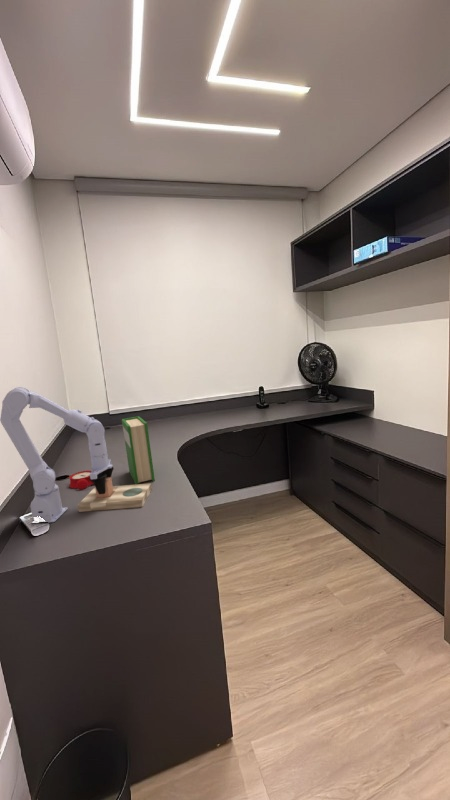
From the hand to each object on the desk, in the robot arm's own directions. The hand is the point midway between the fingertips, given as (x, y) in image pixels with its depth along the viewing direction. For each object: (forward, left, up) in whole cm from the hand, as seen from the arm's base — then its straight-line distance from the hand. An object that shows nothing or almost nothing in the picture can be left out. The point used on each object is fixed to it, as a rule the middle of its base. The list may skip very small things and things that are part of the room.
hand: (104, 490), depth 124 cm
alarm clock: (+18, +16, -4) cm, 24 cm away
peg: (0, 0, -4) cm, 4 cm away
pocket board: (0, -4, -4) cm, 6 cm away
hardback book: (+22, -7, -4) cm, 23 cm away
